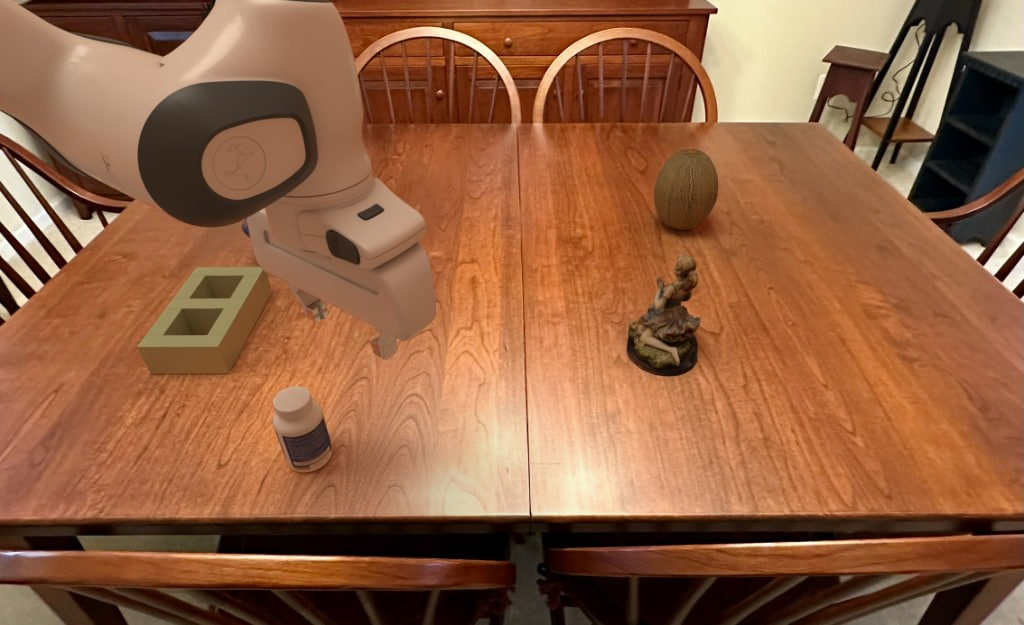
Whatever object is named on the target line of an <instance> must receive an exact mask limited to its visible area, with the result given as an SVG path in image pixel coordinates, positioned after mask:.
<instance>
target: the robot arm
mask: <svg viewBox="0 0 1024 625" xmlns="http://www.w3.org/2000/svg"><path fill="white" fill-rule="evenodd" d="M209 13H210V14H209V15H208V16H207V17H206V19H205V20H204V22H203V21H202V23H201V24H200V25H199V27H198V28H197V29H196V30H194V32H193V33H192V34H191V35H190V36H189V37H188V38H187V39H186V40H185V41H183V43H181V44H180V45H178V46H177V47H176V48H175V49H173V50H172V51H170V52H169V53H168V54H166V55H164V56H162V55H158V54H155V53H152V52H149V51H147V50H144V49H142V48H140V47H137V46H134V45H132V44H129V43H126V42H124V41H120V40H117V39H113V38H109V37H104V36H99V35H93V34H86V33H79V32H74V31H69V30H67V29H64V28H62V27H59V26H56V25H54V24H52V23H49V22H48V21H47V20H44V19H42V18H41V17H40V16H38V15H36V14H34V13H33V12H31V11H30V10H28V9H26V8H25V7H23V6H22V5H20V4H19V3H17V2H15V1H13V0H0V112H1V113H3V114H5V115H7V117H10V118H12V119H13V120H14V121H15V122H16V123H17V124H19V125H20V126H21V127H22V128H23V129H24V130H25V131H26V132H27V133H28V134H29V135H30V136H31V137H32V138H33V139H34V140H35V141H36V142H37V143H38V144H39V145H40V146H41V147H42V148H43V149H44V150H45V151H47V152H48V153H49V154H50V155H51V156H52V157H53V158H54V159H55V160H56V161H58V162H59V163H60V164H62V165H63V166H65V167H66V168H67V169H69V170H71V171H73V172H74V173H76V174H78V175H80V176H82V177H85V178H88V179H90V180H93V181H96V182H98V183H101V184H104V185H106V186H108V187H110V188H112V189H114V190H116V191H119V192H121V193H122V194H124V195H126V196H128V197H129V198H132V199H134V200H135V201H138V202H140V203H141V204H143V205H146V206H147V207H149V208H151V209H153V210H155V211H158V212H159V213H161V214H162V215H166V216H167V217H170V218H172V219H174V220H177V221H180V222H182V223H184V224H187V225H191V226H194V227H198V228H199V227H200V228H223V227H227V226H231V225H235V224H237V223H240V222H242V221H244V220H245V219H246V218H247V223H248V229H249V234H250V238H249V239H250V243H251V247H252V252H253V255H254V259H255V261H256V262H257V264H258V265H259V267H261V268H262V269H263V270H264V271H265V272H266V273H267V274H269V275H271V276H273V277H275V278H277V279H279V280H281V281H283V282H284V283H287V285H288V288H289V289H290V291H291V292H292V293H293V296H294V297H295V298H296V300H297V301H298V302H299V304H300V305H301V307H302V310H303V315H304V317H305V318H306V319H308V320H310V321H312V322H314V323H316V324H318V323H320V322H321V321H322V320H325V319H326V318H328V316H329V314H330V313H329V312H330V311H329V309H328V304H329V305H331V306H333V307H334V308H336V309H339V310H340V311H342V312H344V313H346V314H348V315H350V316H352V317H354V318H356V319H358V320H360V321H362V322H364V323H366V324H368V325H370V326H372V327H374V328H375V332H376V333H378V334H379V336H376V337H375V338H373V339H372V340H371V341H370V344H371V347H372V353H373V354H374V355H376V356H377V357H379V358H381V359H383V360H384V361H388V360H389V359H390V358H392V357H393V356H395V355H396V354H397V352H398V350H399V346H398V340H399V341H402V342H408V341H410V340H412V339H413V338H415V337H416V336H418V335H419V334H420V333H422V332H423V331H424V330H426V329H427V328H428V327H429V326H430V325H431V324H432V323H433V322H434V320H435V318H436V316H437V298H436V288H435V283H434V282H435V281H434V275H433V270H432V265H431V261H430V258H429V256H428V253H427V252H426V250H425V249H424V247H423V246H422V245H421V244H420V243H419V242H420V241H421V240H422V239H423V238H424V237H425V236H426V234H427V227H426V226H427V224H426V221H425V219H424V217H423V215H422V214H421V213H420V212H418V211H417V210H416V209H415V208H414V207H412V206H411V205H409V204H408V203H407V202H405V201H403V199H401V198H400V197H399V196H397V195H396V194H395V193H394V192H393V191H391V189H389V188H388V187H387V186H386V184H385V183H384V182H383V181H382V180H381V179H379V178H378V177H376V176H374V170H373V164H372V160H371V159H372V158H371V156H370V154H369V153H368V150H367V148H366V146H365V142H364V139H363V124H364V118H365V117H364V114H365V111H364V106H363V100H362V99H363V98H362V92H361V85H360V81H359V75H358V70H357V65H356V61H355V56H354V52H353V49H352V48H353V47H352V45H351V41H350V37H349V35H348V32H347V29H346V25H345V23H344V21H343V18H342V17H341V15H340V13H339V11H338V9H337V7H336V6H335V5H334V3H333V2H331V1H330V0H216V2H215V5H214V7H213V9H212V11H211V12H209Z"/></svg>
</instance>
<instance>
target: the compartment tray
mask: <svg viewBox="0 0 1024 625" xmlns="http://www.w3.org/2000/svg"><path fill="white" fill-rule="evenodd" d="M272 294H273V290H272V287H271V284H270V280H269V277H268V273H267V272H265V271H264V270H263V269H262V268H261V266H196V267H195V268H194V269H193V271H192V272H191V274H190V275H189V276H188V278H186V280H185V282H184V283H183V284H182V286H181V287H180V288H179V290H178V291H177V292H176V294H175V295H174V297H173V298H172V299H171V301H170V302H169V303H168V304H167V306H166V307H165V308H164V310H163V311H162V312H161V314H160V315H159V317H158V318H157V319H156V321H155V322H154V323H153V325H152V326H151V327H150V328H149V330H148V331H147V332H146V334H145V335H144V336H143V338H142V339H141V341H140V342H139V343H138V344H137V346H136V349H137V350H138V353H139V354H140V356H141V358H142V361H143V362H144V364H145V367H146V368H147V369H148V372H149V373H150V375H229V374H230V372H231V370H232V369H233V367H234V365H235V363H236V361H237V359H238V358H239V356H240V354H241V351H242V349H243V348H244V346H245V344H246V343H247V341H248V339H249V337H250V335H251V333H252V331H253V329H254V328H255V325H256V323H257V322H258V320H259V318H260V316H261V314H262V313H263V311H264V309H265V307H266V305H267V304H268V301H269V299H270V297H271V296H272Z"/></svg>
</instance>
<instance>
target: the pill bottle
mask: <svg viewBox="0 0 1024 625" xmlns="http://www.w3.org/2000/svg"><path fill="white" fill-rule="evenodd" d="M272 407H273V410H274V413H273V415H272V426H273V430H274V432H275V435H276V437H277V441H278V444H279V446H280V449H281V450H282V454H283V456H284V459H285V461H286V464H287V466H288V467H289V468H290V469H291V470H292V471H295V472H297V473H311V472H315V471H317V470H319V469H321V468H322V467H324V466H325V465H326V464H327V463H328V462H329V460H330V459H331V458H332V455H333V451H334V450H333V448H334V447H333V444H332V441H331V436H330V433H329V429H328V426H327V422H326V418H325V415H324V411H323V408H322V406H321V404H320V403H319V402H318V401H317V400H315V399H313V396H312V394H311V392H310V390H309V389H308V388H307V387H305V386H301V385H292V386H288V387H286V388H284V389H281V390H280V391H278V392H277V393H276V394H275V396H274V397H273V400H272Z"/></svg>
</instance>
